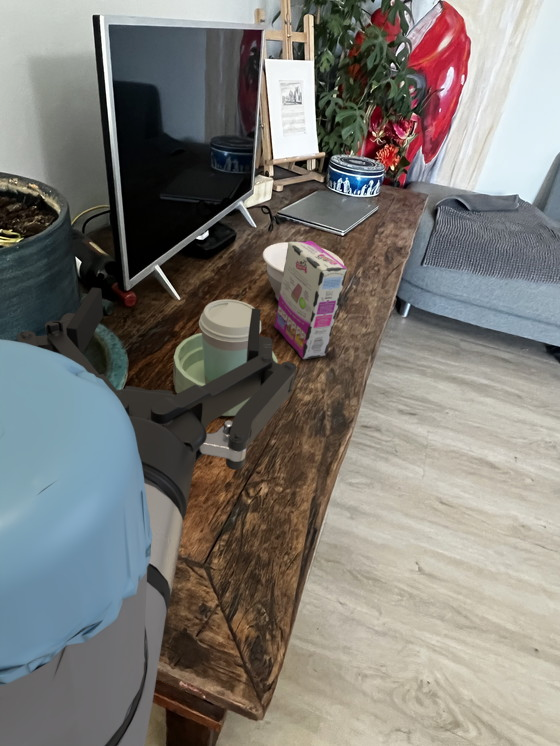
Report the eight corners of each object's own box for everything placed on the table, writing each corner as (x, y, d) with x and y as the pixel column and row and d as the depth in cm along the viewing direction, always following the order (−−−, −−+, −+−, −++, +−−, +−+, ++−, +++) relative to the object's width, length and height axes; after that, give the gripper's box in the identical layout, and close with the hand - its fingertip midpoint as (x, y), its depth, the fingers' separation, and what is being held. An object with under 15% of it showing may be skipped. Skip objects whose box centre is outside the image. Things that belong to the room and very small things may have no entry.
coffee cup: (234, 360, 79) (241, 293, 72) (264, 391, 73) (275, 322, 66) (185, 373, 74) (188, 303, 67) (213, 407, 69) (220, 335, 62)
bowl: (281, 323, 91) (288, 281, 86) (244, 283, 102) (249, 244, 97) (350, 312, 98) (360, 273, 93) (309, 276, 109) (317, 239, 104)
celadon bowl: (165, 412, 67) (165, 384, 65) (182, 351, 79) (183, 325, 76) (272, 424, 69) (277, 396, 66) (273, 362, 81) (277, 337, 78)
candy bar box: (327, 356, 85) (349, 268, 75) (302, 361, 82) (322, 270, 73) (296, 322, 92) (313, 238, 82) (272, 326, 90) (286, 240, 80)
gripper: (-114, 534, 27) (35, 330, 44) (328, 569, 30) (309, 363, 47) (-166, 437, 23) (22, 252, 40) (359, 487, 25) (325, 292, 42)
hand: (177, 311), depth 43 cm, fingers open, 13 cm apart
